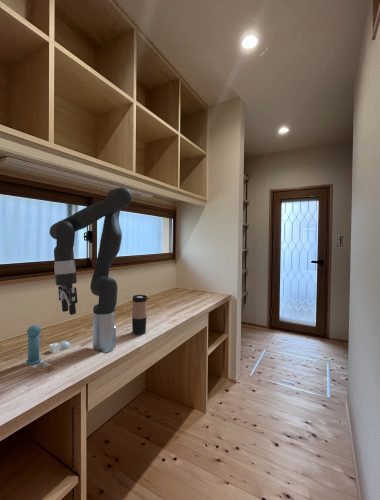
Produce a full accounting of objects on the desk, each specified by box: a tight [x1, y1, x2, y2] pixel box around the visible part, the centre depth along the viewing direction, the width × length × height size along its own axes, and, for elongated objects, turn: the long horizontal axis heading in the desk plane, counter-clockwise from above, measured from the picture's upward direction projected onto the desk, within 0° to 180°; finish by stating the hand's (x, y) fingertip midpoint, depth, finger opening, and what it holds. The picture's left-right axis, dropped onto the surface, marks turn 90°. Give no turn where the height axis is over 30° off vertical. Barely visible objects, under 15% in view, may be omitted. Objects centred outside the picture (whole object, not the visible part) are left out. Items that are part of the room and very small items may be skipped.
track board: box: [23, 359, 60, 375], centre depth 97 cm, size 7×16×1 cm, turn 62°
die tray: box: [48, 340, 72, 354], centre depth 112 cm, size 10×8×6 cm
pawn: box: [25, 324, 42, 366], centre depth 99 cm, size 5×5×14 cm
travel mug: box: [131, 294, 148, 336], centre depth 138 cm, size 8×8×20 cm
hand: (69, 312), depth 101 cm, fingers open, 8 cm apart
